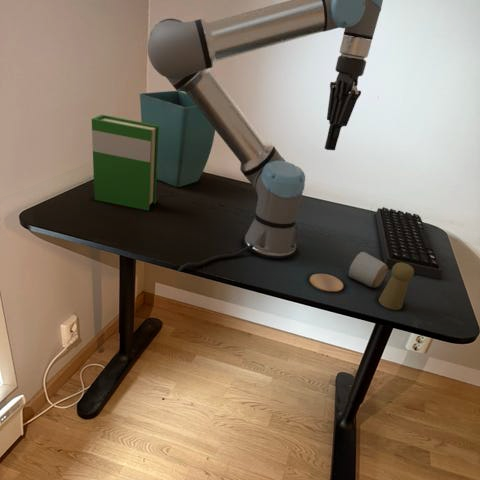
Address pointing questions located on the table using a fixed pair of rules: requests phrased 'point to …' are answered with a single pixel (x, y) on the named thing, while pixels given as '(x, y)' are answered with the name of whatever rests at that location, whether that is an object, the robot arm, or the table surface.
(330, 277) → the cork coaster
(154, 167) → the hardback book
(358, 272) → the ceramic mug
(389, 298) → the pepper shaker
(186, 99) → the flower pot
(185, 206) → the table surface
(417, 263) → the computer keyboard
